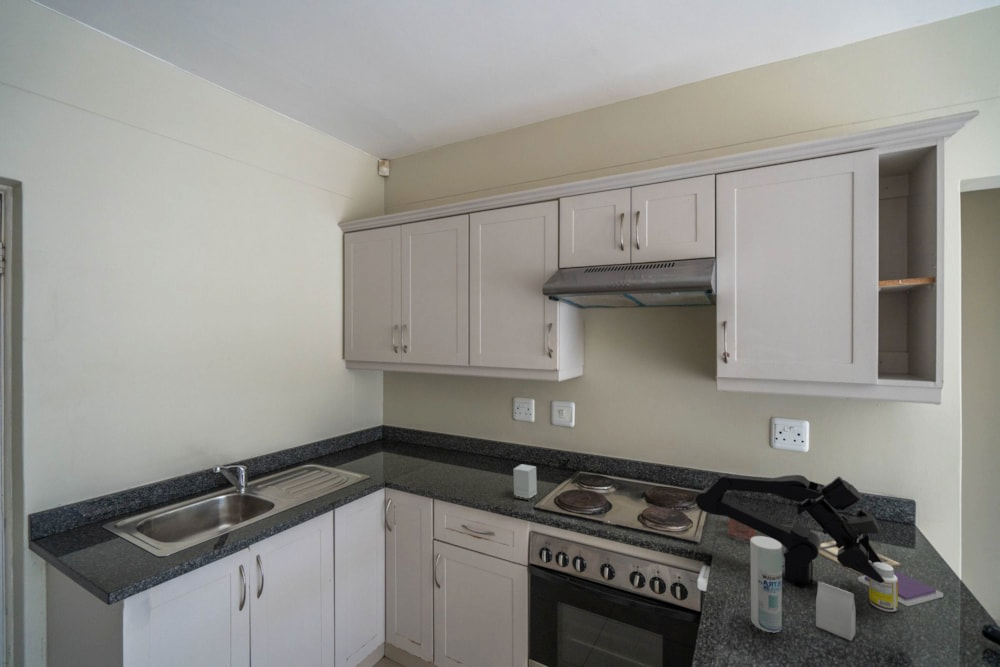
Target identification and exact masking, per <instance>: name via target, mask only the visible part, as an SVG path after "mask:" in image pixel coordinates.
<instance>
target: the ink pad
mask: <svg viewBox="0 0 1000 667" xmlns="http://www.w3.org/2000/svg"><path fill="white" fill-rule="evenodd" d="M894 575H895V576H896V577H897V578H898V603H901V604H902V605H905V607H911V606H915V605H918V604H923V603H926V602H930V601H933V600H938V599H940V598H944V593H943V592H942V591H940V590H937V589H935V588H933V587H930V586H929V585H927V584H924V583H922V582H920V581H918V580H916V579H914V578H911V577H910V576H907V575H905V574H903V573H901V572H898V571H896V570H894ZM857 581H858V582H859V583H862V584H863V585H865V586H868V587H869V577H868V576H866V575H862V576H861V575H860V576H858V577H857Z"/></svg>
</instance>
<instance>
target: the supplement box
mask: <svg viewBox="0 0 1000 667" xmlns="http://www.w3.org/2000/svg"><path fill="white" fill-rule="evenodd" d="M512 470H513V496H514V495H516V496H520V497H524V498H531V497H533V496H534V495H536V494H538V492H537V490H538V488H537V466H534V465H530V464H529V465H528V464H522V463H521V464H518V466H516V467H514V468H513V469H512Z"/></svg>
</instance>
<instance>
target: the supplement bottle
mask: <svg viewBox="0 0 1000 667" xmlns="http://www.w3.org/2000/svg"><path fill="white" fill-rule="evenodd" d="M873 566H874V567H875V569H876V570H877V571H878V573H879V574H880V575H881V577H882V578H883V579H884V582H882V583H879V582H877V581H875V580H873V579H871V578H870V577H869V586H868V587H869V589H868V592H869V593H868V596H869V597H868V599H869V603H870V604H871V605H872V606H873V607H874V608H876V609H879V610H880V611H885V612H892V613H893V612H897V611H898V608H899V602H898V578H897V577H896V576H895V575H894V571H895V569H894V567H891V566H890V565H888V564H885V563H881V562H875V563H873Z"/></svg>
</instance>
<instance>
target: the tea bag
mask: <svg viewBox="0 0 1000 667" xmlns="http://www.w3.org/2000/svg"><path fill="white" fill-rule="evenodd" d="M817 583H818V584H817V593H816V597H815V598H816V599H815V627H817V628H820V629H822V630H824V631H826V632H829V633H832V634H833V635H835V636H839V637H841V638H843V639H846V640H848V641H850V642H852V641H853V639H854V637H855V635H856V605H855V604H856V602H855V594H854V593H853V592H850V591H847V590H845V589H841V588H839V587H837V586H833V585H830V584H827V583H826V582H822V581H817Z"/></svg>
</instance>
